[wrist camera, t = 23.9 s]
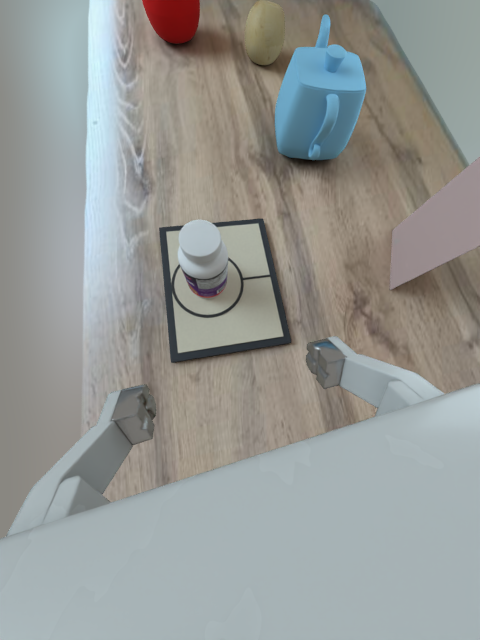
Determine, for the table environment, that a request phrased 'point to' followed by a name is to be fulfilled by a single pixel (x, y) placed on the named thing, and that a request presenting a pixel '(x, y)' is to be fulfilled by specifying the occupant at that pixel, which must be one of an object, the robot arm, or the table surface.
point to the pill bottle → (203, 258)
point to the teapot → (319, 100)
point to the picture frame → (225, 297)
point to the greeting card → (438, 228)
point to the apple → (264, 32)
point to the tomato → (173, 18)
